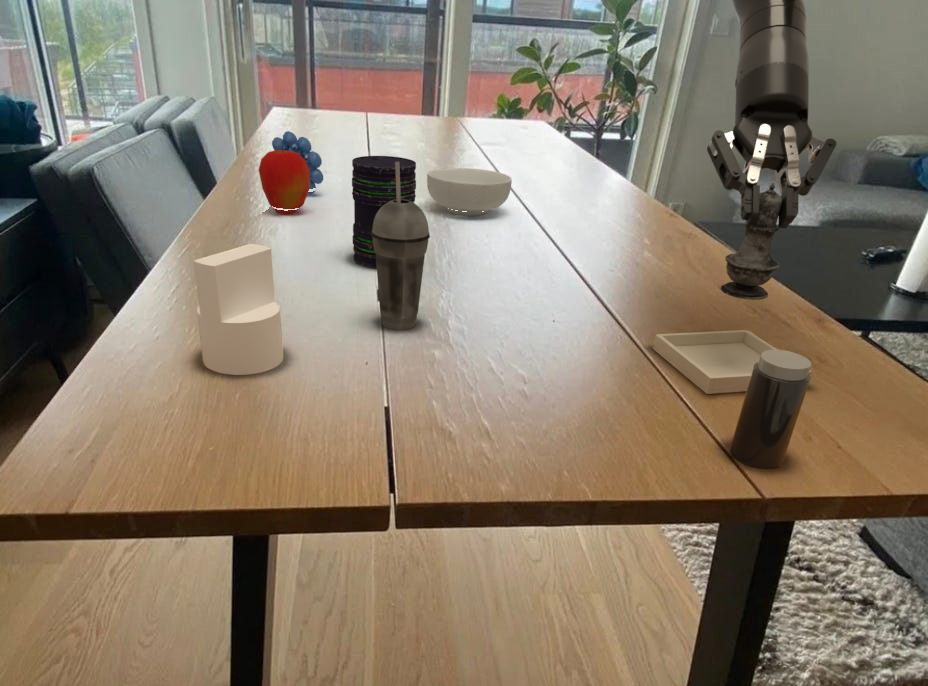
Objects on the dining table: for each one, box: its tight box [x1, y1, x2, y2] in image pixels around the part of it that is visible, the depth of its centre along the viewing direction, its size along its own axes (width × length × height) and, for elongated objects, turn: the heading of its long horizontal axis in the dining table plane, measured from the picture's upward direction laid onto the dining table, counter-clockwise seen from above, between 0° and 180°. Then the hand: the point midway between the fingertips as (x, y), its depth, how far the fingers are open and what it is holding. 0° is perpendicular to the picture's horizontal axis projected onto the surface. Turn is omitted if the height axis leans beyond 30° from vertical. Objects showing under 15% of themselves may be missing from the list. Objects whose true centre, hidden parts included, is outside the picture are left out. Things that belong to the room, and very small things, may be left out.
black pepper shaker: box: [729, 349, 812, 469], centre depth 72 cm, size 5×5×10 cm
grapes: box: [271, 130, 324, 195], centre depth 156 cm, size 12×7×12 cm, turn 75°
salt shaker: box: [720, 182, 782, 301], centre depth 85 cm, size 6×6×12 cm
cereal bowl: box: [426, 167, 513, 217], centre depth 153 cm, size 17×17×7 cm
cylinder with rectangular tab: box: [193, 243, 284, 376], centre depth 85 cm, size 9×9×12 cm
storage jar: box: [351, 155, 417, 270], centre depth 120 cm, size 10×10×15 cm
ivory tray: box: [652, 329, 812, 395], centre depth 93 cm, size 13×13×2 cm
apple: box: [258, 146, 310, 216], centre depth 144 cm, size 9×9×12 cm
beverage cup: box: [371, 162, 431, 331], centre depth 95 cm, size 7×7×20 cm
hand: (769, 222), depth 82 cm, fingers closed on salt shaker, 3 cm apart
